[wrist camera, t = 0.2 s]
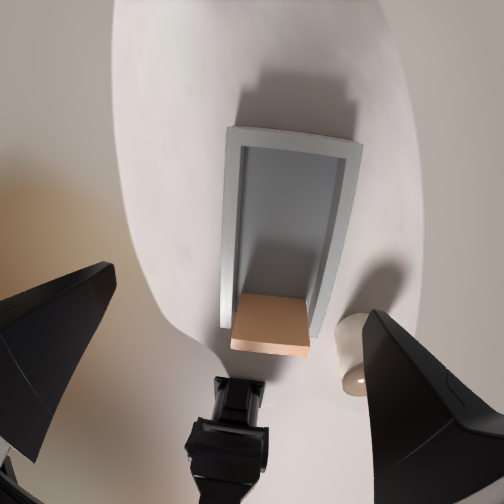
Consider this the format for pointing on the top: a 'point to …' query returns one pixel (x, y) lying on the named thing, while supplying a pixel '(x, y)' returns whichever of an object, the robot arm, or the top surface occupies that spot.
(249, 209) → the grey tray
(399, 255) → the top surface
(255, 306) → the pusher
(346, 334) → the cream brown-topped cylinder
